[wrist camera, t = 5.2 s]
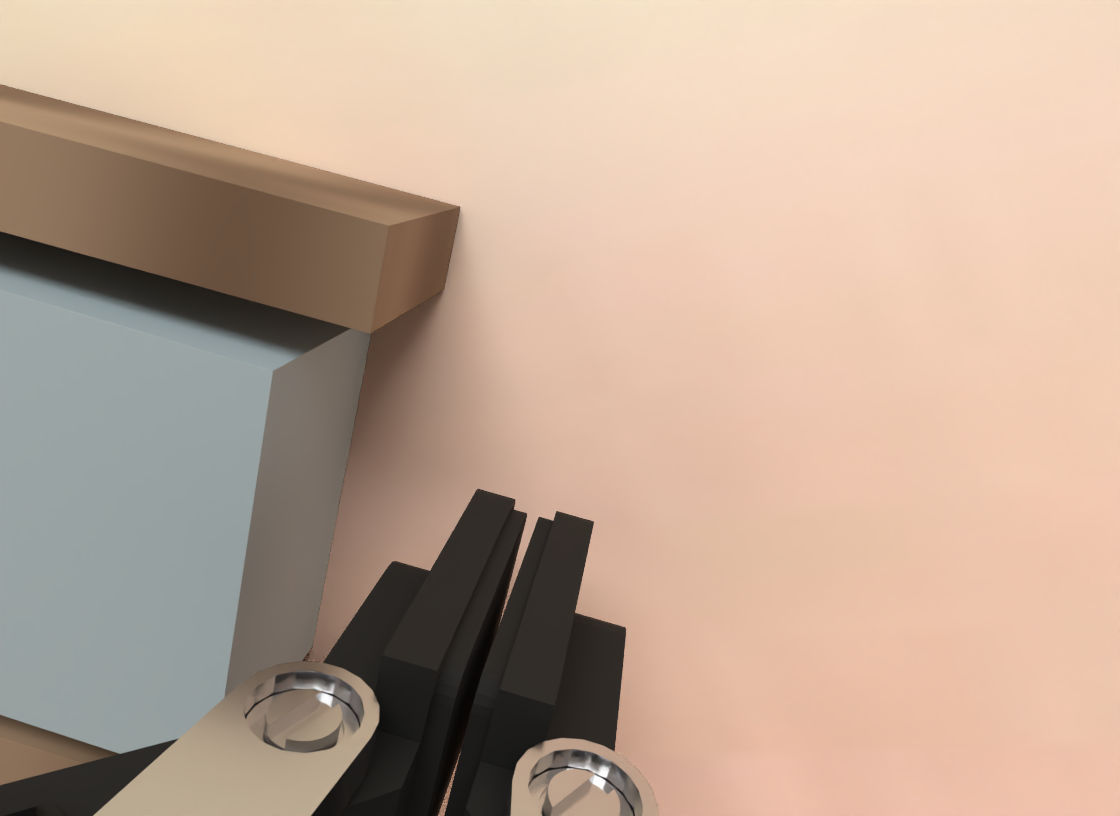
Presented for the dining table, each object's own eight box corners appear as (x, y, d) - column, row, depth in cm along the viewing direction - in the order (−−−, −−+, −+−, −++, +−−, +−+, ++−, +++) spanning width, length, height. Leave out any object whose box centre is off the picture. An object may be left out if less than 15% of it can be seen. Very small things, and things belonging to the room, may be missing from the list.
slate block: (380, 312, 12) (273, 371, 9) (318, 637, 14) (211, 783, 11) (-104, 171, 13) (-375, 179, 10) (-101, 506, 15) (-325, 608, 11)
